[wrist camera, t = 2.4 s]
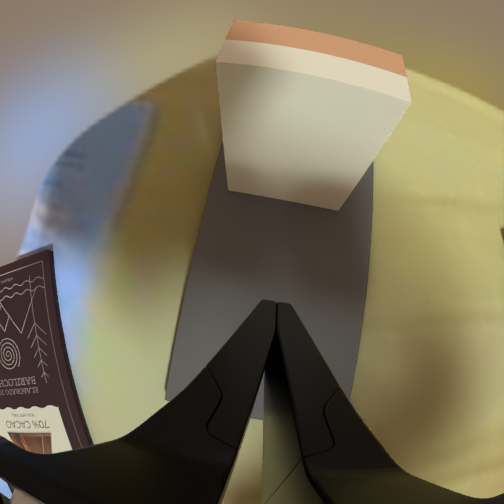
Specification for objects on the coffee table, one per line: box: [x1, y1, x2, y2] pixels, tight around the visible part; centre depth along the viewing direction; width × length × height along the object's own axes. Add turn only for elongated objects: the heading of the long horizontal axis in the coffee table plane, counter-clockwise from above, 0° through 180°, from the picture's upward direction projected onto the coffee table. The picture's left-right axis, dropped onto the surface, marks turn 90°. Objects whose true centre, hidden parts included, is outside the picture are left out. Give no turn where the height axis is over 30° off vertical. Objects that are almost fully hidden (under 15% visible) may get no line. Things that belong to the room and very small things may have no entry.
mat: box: [165, 142, 373, 420], centre depth 16 cm, size 19×9×1 cm, turn 170°
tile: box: [216, 21, 411, 211], centre depth 13 cm, size 2×6×9 cm, turn 80°
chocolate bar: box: [0, 250, 94, 494], centre depth 14 cm, size 9×1×18 cm
